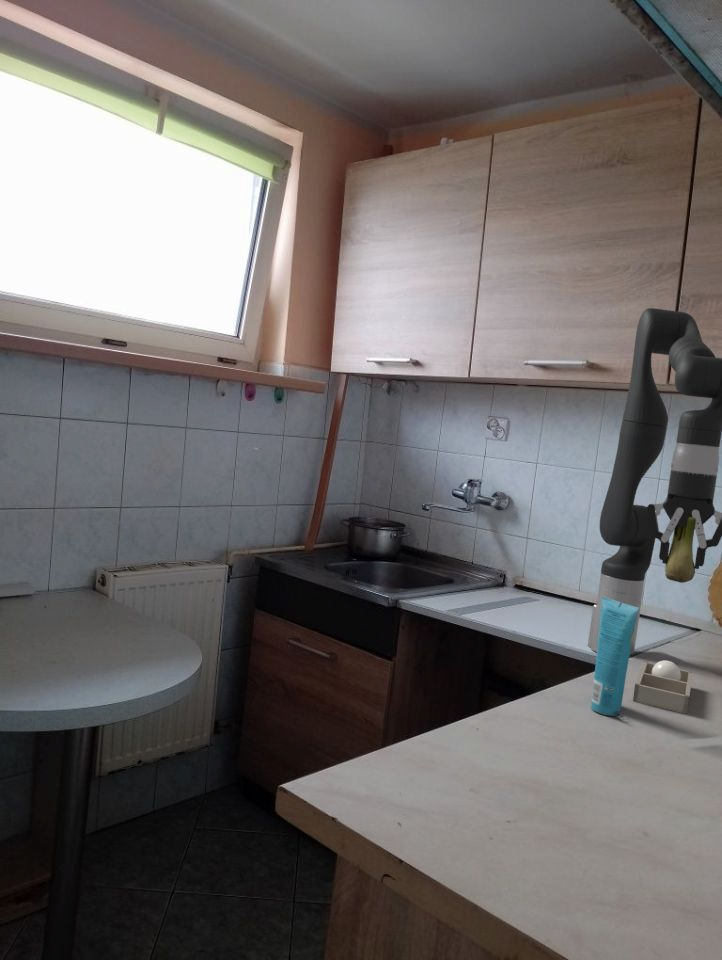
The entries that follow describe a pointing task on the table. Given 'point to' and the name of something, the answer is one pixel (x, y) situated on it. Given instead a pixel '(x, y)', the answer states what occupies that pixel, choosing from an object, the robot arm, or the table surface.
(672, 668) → the ceramic egg
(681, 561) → the fennel bulb
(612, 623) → the tube
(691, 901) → the table surface
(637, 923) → the table surface
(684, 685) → the tray
